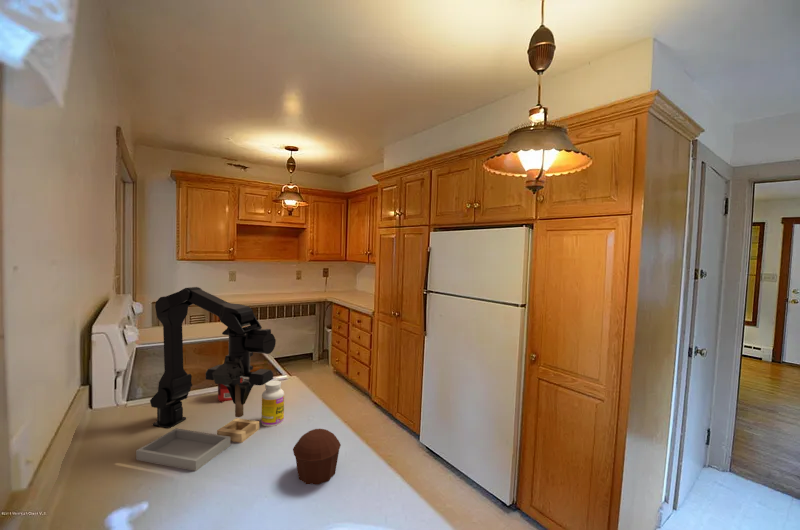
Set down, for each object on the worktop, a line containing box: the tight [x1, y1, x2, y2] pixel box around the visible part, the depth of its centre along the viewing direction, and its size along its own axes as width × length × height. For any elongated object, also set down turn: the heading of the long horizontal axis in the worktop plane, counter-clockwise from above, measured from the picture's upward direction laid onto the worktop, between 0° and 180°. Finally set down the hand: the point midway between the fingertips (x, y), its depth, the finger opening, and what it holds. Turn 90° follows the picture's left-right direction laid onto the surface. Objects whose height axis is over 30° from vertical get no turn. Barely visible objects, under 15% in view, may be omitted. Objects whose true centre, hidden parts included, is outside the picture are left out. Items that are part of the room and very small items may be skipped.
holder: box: [216, 417, 260, 444], centre depth 105 cm, size 8×8×3 cm
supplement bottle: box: [260, 379, 285, 428], centre depth 112 cm, size 7×7×13 cm
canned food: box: [217, 378, 243, 403], centre depth 131 cm, size 8×8×11 cm
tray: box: [135, 427, 231, 472], centre depth 95 cm, size 18×12×3 cm, turn 77°
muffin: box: [292, 428, 342, 486], centre depth 87 cm, size 12×11×10 cm
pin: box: [234, 384, 244, 418], centre depth 104 cm, size 2×2×9 cm
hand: (239, 403), depth 104 cm, fingers closed on pin, 2 cm apart
